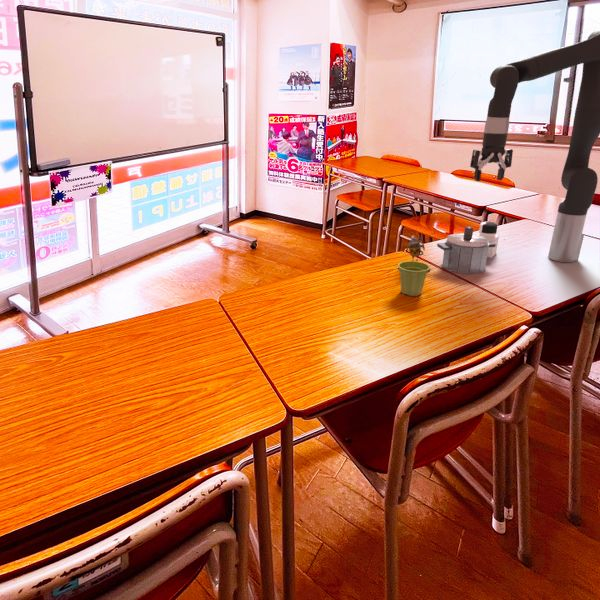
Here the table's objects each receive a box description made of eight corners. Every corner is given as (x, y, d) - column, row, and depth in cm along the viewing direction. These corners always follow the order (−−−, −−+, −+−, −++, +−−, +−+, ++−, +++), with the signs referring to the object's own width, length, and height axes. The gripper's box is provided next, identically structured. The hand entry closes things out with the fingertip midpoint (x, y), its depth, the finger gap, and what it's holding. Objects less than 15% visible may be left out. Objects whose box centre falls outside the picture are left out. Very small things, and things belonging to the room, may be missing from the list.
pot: (477, 258, 186) (480, 234, 182) (499, 271, 173) (504, 246, 170) (428, 261, 182) (431, 237, 178) (448, 275, 169) (451, 249, 166)
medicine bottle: (496, 253, 192) (501, 222, 187) (491, 258, 186) (496, 226, 181) (477, 249, 195) (481, 219, 190) (472, 254, 190) (476, 223, 185)
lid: (474, 235, 181) (476, 221, 179) (496, 246, 169) (498, 231, 167) (439, 237, 179) (441, 223, 177) (459, 248, 166) (461, 234, 164)
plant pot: (392, 287, 159) (394, 261, 156) (421, 286, 160) (424, 260, 157) (400, 298, 151) (402, 271, 147) (430, 298, 152) (434, 270, 148)
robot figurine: (431, 266, 177) (435, 233, 173) (430, 275, 169) (434, 241, 164) (399, 263, 180) (402, 230, 175) (397, 272, 172) (400, 238, 167)
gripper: (508, 130, 174) (500, 177, 180) (470, 130, 171) (464, 179, 177) (521, 132, 167) (513, 181, 174) (483, 132, 164) (475, 183, 171)
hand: (488, 180), depth 176 cm, fingers open, 8 cm apart
